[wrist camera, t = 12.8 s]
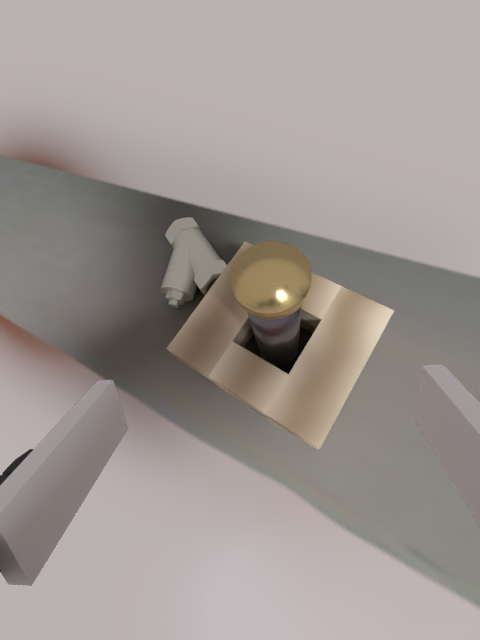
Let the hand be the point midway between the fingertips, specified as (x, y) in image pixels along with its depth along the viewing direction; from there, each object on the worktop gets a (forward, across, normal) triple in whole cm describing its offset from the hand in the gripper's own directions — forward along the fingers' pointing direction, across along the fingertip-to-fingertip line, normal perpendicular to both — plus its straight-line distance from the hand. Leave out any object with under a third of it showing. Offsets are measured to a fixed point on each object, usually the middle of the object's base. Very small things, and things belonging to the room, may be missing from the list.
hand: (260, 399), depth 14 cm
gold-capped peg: (+15, +1, -5) cm, 16 cm away
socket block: (+15, +1, -5) cm, 16 cm away
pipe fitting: (+21, -8, +1) cm, 23 cm away
